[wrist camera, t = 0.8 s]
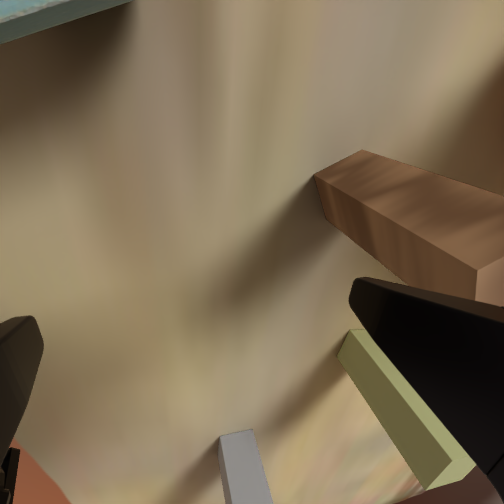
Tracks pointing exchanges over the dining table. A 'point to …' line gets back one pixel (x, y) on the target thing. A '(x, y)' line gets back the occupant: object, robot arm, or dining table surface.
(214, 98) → the dining table surface
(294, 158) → the dining table surface
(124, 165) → the dining table surface
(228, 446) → the grey pillar
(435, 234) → the walnut pillar
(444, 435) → the olive pillar
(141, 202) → the dining table surface
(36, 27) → the flower pot
